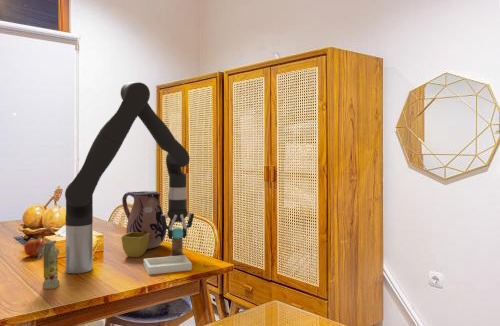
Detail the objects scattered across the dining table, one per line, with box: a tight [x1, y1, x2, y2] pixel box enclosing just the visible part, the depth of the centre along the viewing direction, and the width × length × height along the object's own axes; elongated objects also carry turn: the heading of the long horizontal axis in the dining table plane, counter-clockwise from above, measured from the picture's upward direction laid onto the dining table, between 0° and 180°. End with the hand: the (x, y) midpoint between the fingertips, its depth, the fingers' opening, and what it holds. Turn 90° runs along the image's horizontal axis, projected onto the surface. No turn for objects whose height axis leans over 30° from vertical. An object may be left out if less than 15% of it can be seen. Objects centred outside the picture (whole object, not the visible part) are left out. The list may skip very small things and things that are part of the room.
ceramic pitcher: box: [121, 190, 167, 250], centre depth 190 cm, size 18×21×25 cm
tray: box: [143, 254, 193, 275], centre depth 160 cm, size 16×12×3 cm
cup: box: [169, 237, 185, 256], centre depth 176 cm, size 6×6×8 cm
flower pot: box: [121, 232, 150, 258], centre depth 176 cm, size 9×9×9 cm
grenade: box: [36, 240, 60, 290], centre depth 137 cm, size 6×7×15 cm
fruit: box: [24, 237, 44, 258], centre depth 173 cm, size 7×7×8 cm
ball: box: [172, 226, 183, 239], centre depth 175 cm, size 5×5×5 cm
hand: (177, 238), depth 176 cm, fingers closed on ball, 5 cm apart
